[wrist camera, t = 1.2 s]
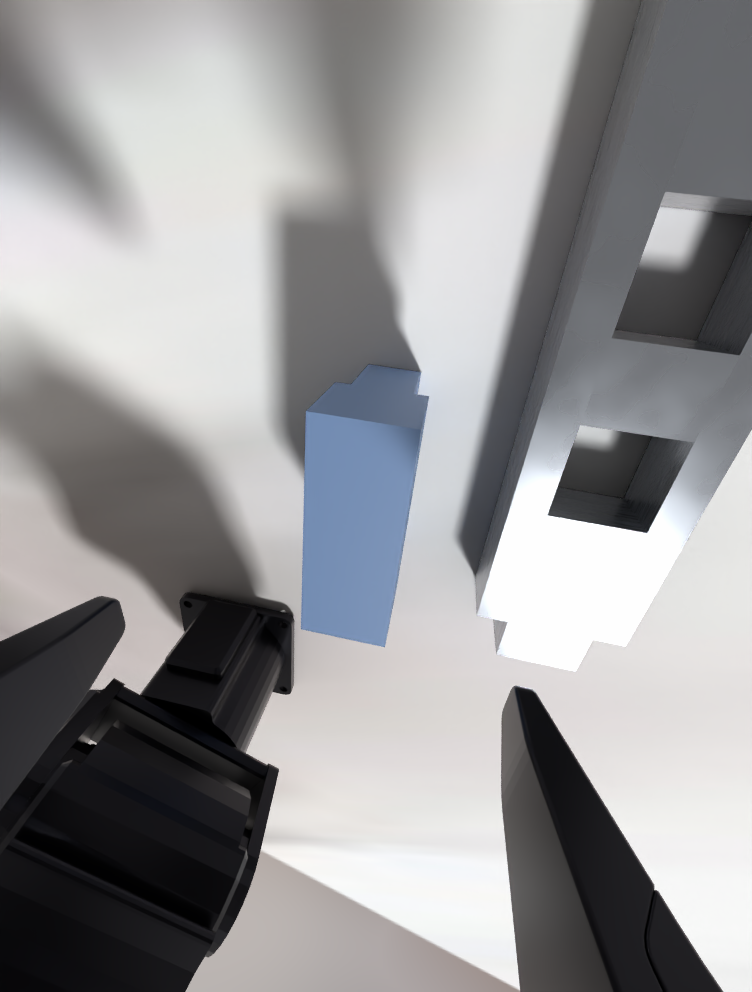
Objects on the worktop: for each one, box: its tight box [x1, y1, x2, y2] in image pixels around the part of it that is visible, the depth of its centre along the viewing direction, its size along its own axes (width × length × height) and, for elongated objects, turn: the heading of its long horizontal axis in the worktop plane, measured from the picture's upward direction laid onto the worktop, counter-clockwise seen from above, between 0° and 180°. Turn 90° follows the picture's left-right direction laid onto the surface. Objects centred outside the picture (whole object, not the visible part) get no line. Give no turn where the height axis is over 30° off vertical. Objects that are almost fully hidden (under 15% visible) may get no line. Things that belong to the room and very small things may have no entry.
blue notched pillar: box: [301, 364, 429, 647], centre depth 15 cm, size 8×3×6 cm, turn 174°
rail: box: [475, 0, 752, 671], centre depth 14 cm, size 24×6×2 cm, turn 174°
